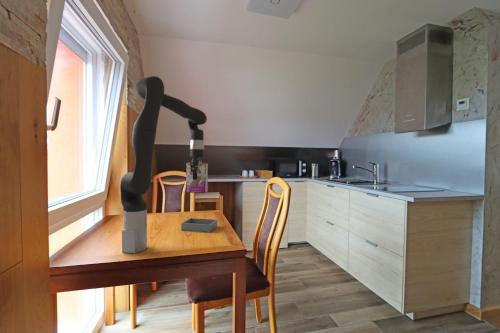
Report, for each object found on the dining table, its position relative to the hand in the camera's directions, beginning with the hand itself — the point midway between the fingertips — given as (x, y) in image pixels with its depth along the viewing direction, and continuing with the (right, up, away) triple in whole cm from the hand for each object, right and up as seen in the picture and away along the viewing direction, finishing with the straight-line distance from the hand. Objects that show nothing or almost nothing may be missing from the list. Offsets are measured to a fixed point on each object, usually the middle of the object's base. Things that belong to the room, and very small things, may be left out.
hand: (197, 179), depth 137 cm
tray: (+1, -28, +1) cm, 28 cm away
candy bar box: (0, -8, 0) cm, 8 cm away
